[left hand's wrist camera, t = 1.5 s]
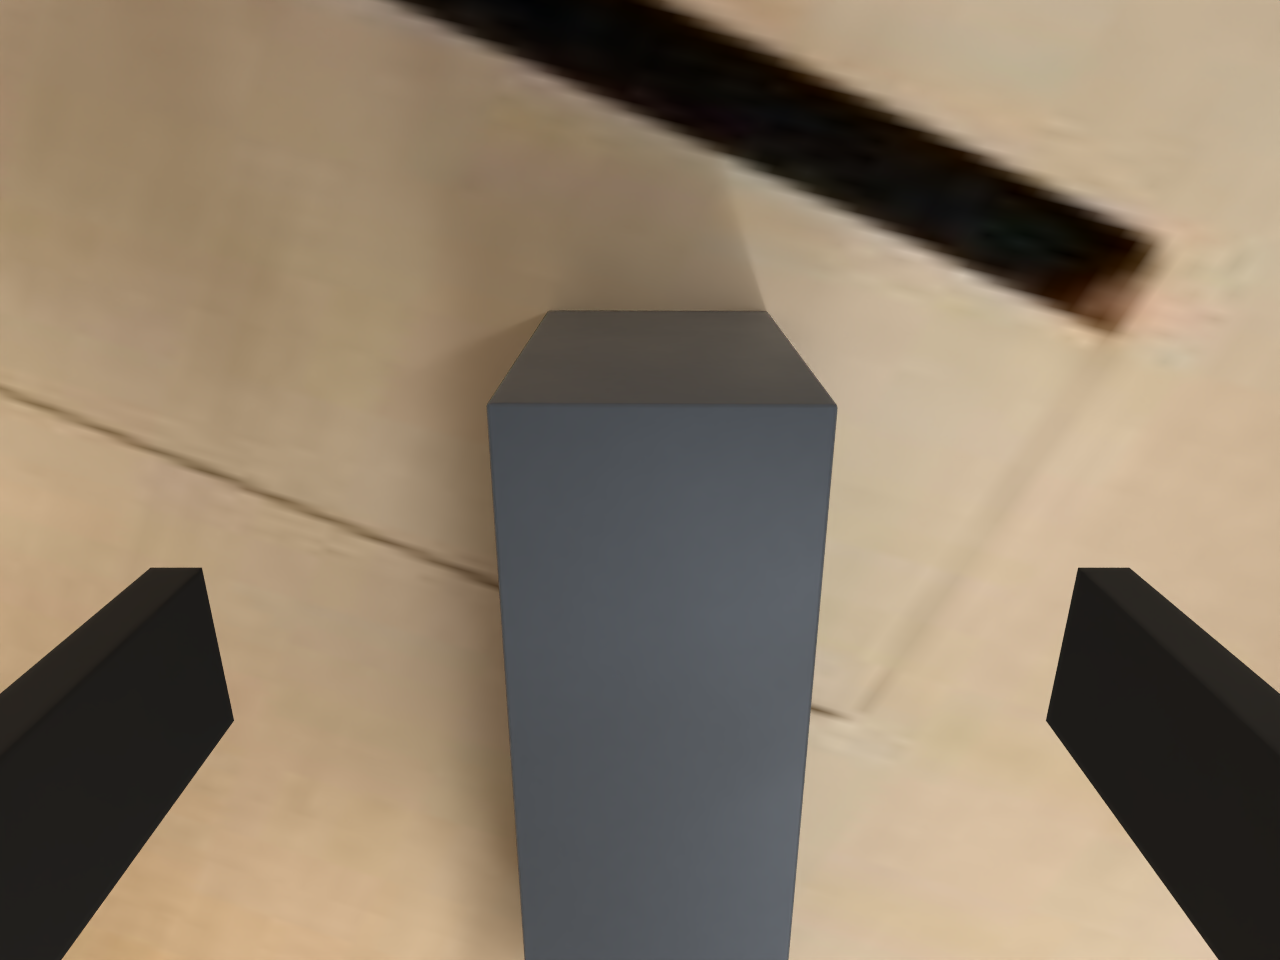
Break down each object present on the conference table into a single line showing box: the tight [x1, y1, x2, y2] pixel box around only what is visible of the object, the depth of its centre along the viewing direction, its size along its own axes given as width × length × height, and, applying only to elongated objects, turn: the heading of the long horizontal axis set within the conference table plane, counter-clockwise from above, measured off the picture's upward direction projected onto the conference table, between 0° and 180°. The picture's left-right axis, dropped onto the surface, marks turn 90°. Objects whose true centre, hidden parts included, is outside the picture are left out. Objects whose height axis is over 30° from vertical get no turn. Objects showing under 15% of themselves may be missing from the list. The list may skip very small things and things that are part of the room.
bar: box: [487, 311, 837, 960], centre depth 22 cm, size 23×6×9 cm, turn 0°
